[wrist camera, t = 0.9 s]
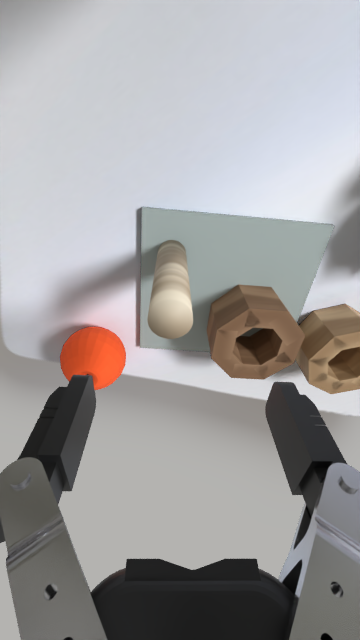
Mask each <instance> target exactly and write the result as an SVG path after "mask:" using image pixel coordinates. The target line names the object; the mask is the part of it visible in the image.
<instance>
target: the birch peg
mask: <svg viewBox="0 0 360 640" xmlns="http://www.w3.org/2000/svg"><path fill="white" fill-rule="evenodd" d="M147 321H148V325H149V328H150V329H151V331H152V332H153V333H155V334H156V335H157V336H159V337H162V338H166V339H175V338H179V337H182V336H183V335H185V334H186V333H188V332H189V330H190V329H191V327H192V325H193V312H192V303H191V294H190V284H189V275H188V266H187V256H186V250H185V247H184V246H183V245H182V244H181V243H180V242H179V241H176V240H167V241H165V242H163V243H162V244H161V245H160V247H159V249H158V253H157V260H156V266H155V273H154V279H153V286H152V292H151V298H150V305H149V311H148V318H147Z"/></svg>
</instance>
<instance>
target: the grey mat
mask: <svg viewBox="0 0 360 640" xmlns="http://www.w3.org/2000/svg"><path fill="white" fill-rule="evenodd" d="M333 229H334V225H332V224H324V223H313V222H302V221H291V220H281V219H270V218H259V217H248V216H237V215H226V214H215V213H204V212H193V211H182V210H172V209H161V208H150V207H142V231H141V309H140V348H154V349H170V350H187V351H204V352H210V347H209V341H208V336H207V325H208V319H209V313H210V307H211V303H213V302H214V301H216V300H217V299H218V298H220V297H221V296H223V295H224V294H226V293H227V292H228V291H230V290H231V289H233V288H234V287H236V286H237V285H238V284H239V285H252V286H266V287H272V288H273V290H274V291H275V293H276V294H277V295H278V297H279V298H280V300H281V301H282V302H283V304H284V305H285V307H286V308H287V309H288V311H289V312H290V314H291V315H292V317H293V318H294V320H295V321H296V322H298V319H299V316H300V314H301V311H302V309H303V306H304V303H305V301H306V298H307V296H308V293H309V291H310V288H311V285H312V283H313V280H314V278H315V275H316V273H317V270H318V267H319V265H320V262H321V260H322V257H323V254H324V252H325V249H326V247H327V244H328V242H329V239H330V236H331V234H332V231H333ZM167 240H176V241H179V242H180V243H181V244H182V245H183V246H184V247H185V250H186V256H187V266H188V275H189V284H190V294H191V303H192V312H193V325H192V327H191V329H190V330H189V332H188V333H186V334H185V335H183V336H182V337H179V338H175V339H166V338H162V337H159V336H157V335H156V334H155V333H153V332H152V331H151V329H150V328H149V325H148V321H147V318H148V311H149V305H150V298H151V292H152V286H153V279H154V273H155V266H156V260H157V253H158V249H159V247H160V245H161V244H162V243H163V242H165V241H167ZM261 329H263V328H254V327H253V328H252V329H250V330H248V331H247V332H245V333H244V334H242V335H240V336H251V335H253V334H254V333H256V332H258V331H259V330H261Z"/></svg>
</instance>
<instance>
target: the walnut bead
mask: <svg viewBox="0 0 360 640" xmlns="http://www.w3.org/2000/svg"><path fill="white" fill-rule="evenodd" d="M253 327H254V328H263V329H261V330H259V331H258V332H256V333H254V334H253V335H251V336H240V335H242V334H244V333H245V332H247V331H248V330H250V329H252V328H253ZM207 336H208V341H209V347H210V353H211V359H213V360H214V361H215V362H216V363H217V364H218V365H219V366H220V367H221V368H222V369H223V370H224V371H225V372H226V373H227V374H228V375H229V376H230V377H231V378H246V379H265V378H267V377H269V376H271V375H273V374H275V373H276V372H278V371H280V370H282V369H284V368H286V367H288V366H289V365H291V364H293V363H294V361H295V359H296V356H297V354H298V352H299V349H300V347H301V345H302V342H303V340H304V337H305V334H304V333H303V331H302V330H301V328H300V327H299V325H298V324H297V322H296V321H295V320H294V318H293V317H292V315H291V314H290V312H289V311H288V309H287V308H286V307H285V305H284V304H283V302H282V301H281V300H280V298H279V297H278V295H277V294H276V293H275V291H274V290H273V288H272V287H266V286H252V285H239V284H238V285H237V286H236V287H234V288H233V289H231V290H230V291H228V292H227V293H226V294H224V295H223V296H221V297H220V298H218V299H217V300H216V301H214V302H213V303H211V307H210V313H209V319H208V325H207Z"/></svg>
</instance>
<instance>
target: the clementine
mask: <svg viewBox="0 0 360 640" xmlns="http://www.w3.org/2000/svg"><path fill="white" fill-rule="evenodd" d="M125 360H126V352H125V348H124V346H123V343H122V342H121V340H120V338H119V337H118V336H117V335H116V334H115V333H113V332H111V331H110V330H107V329H104V328H101V327H87V328H84V329H81V330H79V331H77V332H75V333H74V334H72V335H71V336H70V337H69V339H68V340H67V341H66V342H65V344H64V345H63V348H62V352H61V355H60V362H61V369H62V371H63V374H64V375H65V377H66V378H67V379H68V381H69V382H70V380H71V377H72V376H73V375H92V377H93V384H94V390H98V389H101V388H104V387H107V386H109V385H110V384H112V383H113V382H114V381H115V380H116V379H117V378H118V377H119V376H120V375H121V373H122V371H123V368H124V366H125Z"/></svg>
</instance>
